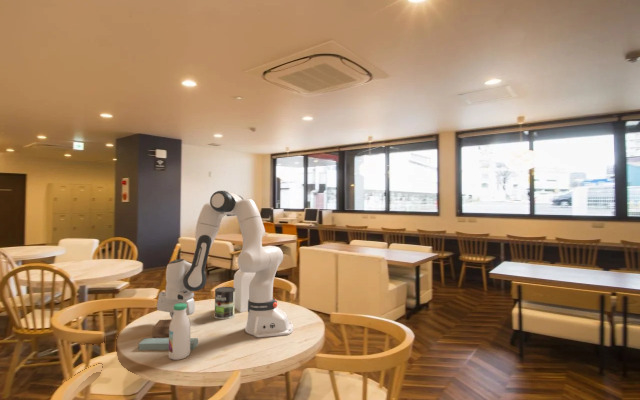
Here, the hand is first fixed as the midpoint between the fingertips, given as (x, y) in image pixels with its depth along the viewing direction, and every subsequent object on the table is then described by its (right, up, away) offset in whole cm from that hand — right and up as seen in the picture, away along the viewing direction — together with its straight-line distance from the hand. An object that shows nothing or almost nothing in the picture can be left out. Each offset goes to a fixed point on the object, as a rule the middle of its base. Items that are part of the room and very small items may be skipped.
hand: (175, 321), depth 156 cm
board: (+8, -2, -24) cm, 25 cm away
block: (+1, -2, -10) cm, 10 cm away
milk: (+28, -2, +27) cm, 39 cm away
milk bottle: (+16, -2, -31) cm, 35 cm away
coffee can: (+20, -2, +13) cm, 24 cm away
